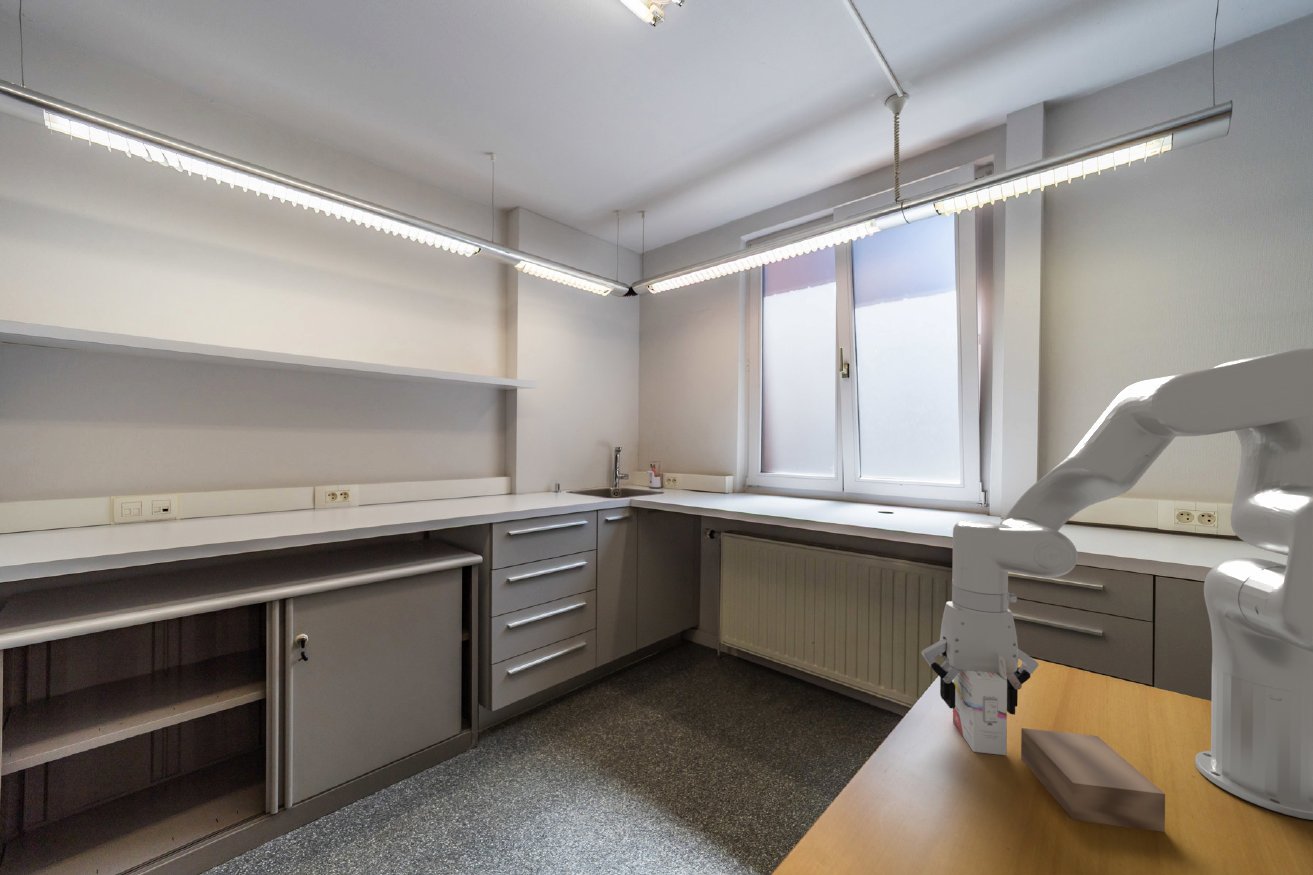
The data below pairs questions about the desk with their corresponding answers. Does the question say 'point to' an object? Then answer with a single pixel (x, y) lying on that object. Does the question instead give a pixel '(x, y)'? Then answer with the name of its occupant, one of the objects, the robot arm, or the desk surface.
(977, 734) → the ink cartridge box
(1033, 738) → the walnut block
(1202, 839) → the desk surface
